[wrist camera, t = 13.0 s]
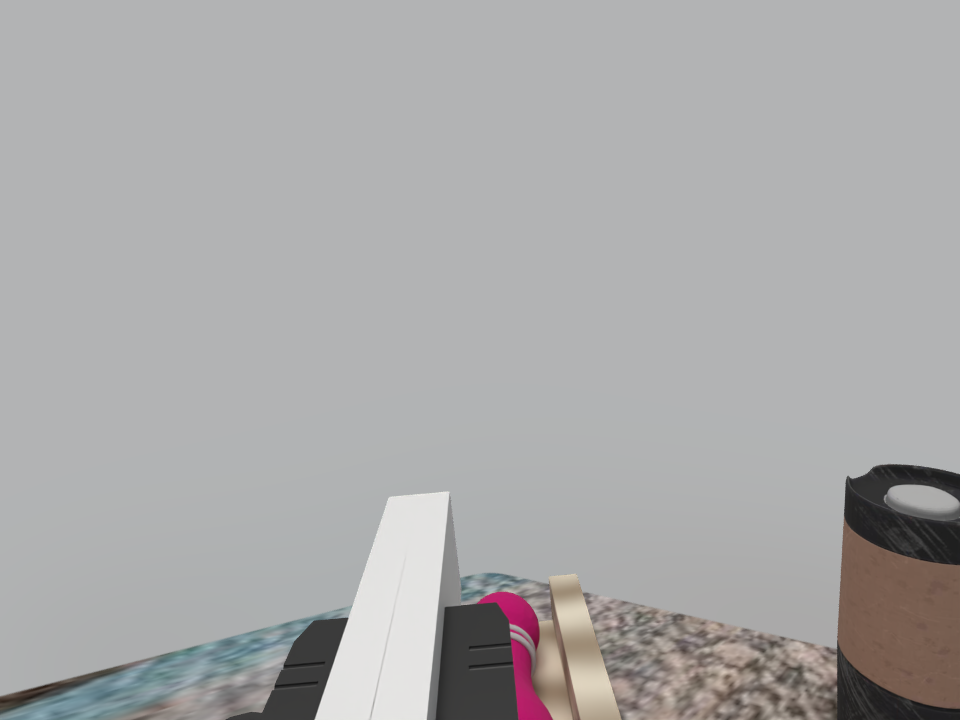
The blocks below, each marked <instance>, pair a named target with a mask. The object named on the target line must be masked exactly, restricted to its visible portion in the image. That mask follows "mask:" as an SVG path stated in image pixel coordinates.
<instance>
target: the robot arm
mask: <svg viewBox="0 0 960 720" xmlns="http://www.w3.org/2000/svg"><path fill="white" fill-rule="evenodd" d="M460 605H461V583H460V575H459V566H458V558H457V550H456V542H455V533H454V525H453V517H452V508H451V500H450V492H449V491H448V492H437V493H428V494H416V495H406V496H395V497H389V499H388V502H387V505H386V508H385V511H384V514H383V517H382V520H381V523H380V526H379V529H378V532H377V535H376V538H375V541H374V544H373V547H372V550H371V553H370V556H369V559H368V562H367V565H366V568H365V571H364V574H363V577H362V580H361V583H360V586H359V589H358V592H357V595H356V598H355V601H354V604H353V607H352V610H351V613H350V616H349V618H339V619H328V620H317V621H313V622H312V623H311V624H310V625H309V627H308V628H307V629H306V630H305V631H304V632H303V633H302V634H301V635H300V636H299V637H298V638H297V639H296V640H295V641H294V643H293V645H292V648H291V650H290V652H289V654H288V657H287V659H286V661H285V663H284V669H283V670H281V672H280V674H279V677H278V679H277V681H276V683H275V689H274V690H272V692H271V694H270V697H269V699H268V701H267V703H266V705H265V708H264V710H263V712H262V713H257V712H249V713H245V714H241V715H237V716H233V717H230V718H228V719H226V720H519V718H518V707H517V696H516V686H515V675H514V665H513V655H512V645H511V635H510V624H509V619H508V618H507V616H506V615H505V614H504V612H503V611H502V609H501V608H500V606H499V605H498V604H497V602H493V603H482V604H472V605H461V606H460Z"/></svg>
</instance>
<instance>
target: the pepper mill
mask: <svg viewBox="0 0 960 720" xmlns="http://www.w3.org/2000/svg"><path fill="white" fill-rule="evenodd" d="M493 602H497V604H498V605H499V606H500V608H501V609H502V611H503V612H504V614H505V615H506V616H507V618H508V619H509V624H510V635H511V645H512V655H513V665H514V675H515V686H516V696H517V707H518V718H519V720H553V719H552V717H551V715H550V713H549V711H548V709H547V708H546V706H545V705H544V704H543V702H542V701H541V700H540V698H539V697H538V696H537V695H536V693H535V691H534V688H533V685H532V679H531V678H532V676H533V674H534V672H535V669H536V650H537V647H538V644H539V640H540V627H539V623H538V619H537V616H536V614H535V612H534V610H533V609H532V608H531V606H530V605H529V604H528V603H527V602H526V601H525V600H524V599H523V598H521V597H520V596H518V595H516V594H513V593H509V592H496V593H492V594H490V595H487V596H485V597H484V598H483V599H481V600H480V601H479V602H478V603H477V604H482V603H493Z"/></svg>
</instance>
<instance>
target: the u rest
mask: <svg viewBox="0 0 960 720" xmlns="http://www.w3.org/2000/svg"><path fill="white" fill-rule="evenodd" d="M549 586H550V597H551V609H552V620H550V621H540V622H538V623H539V627H540V640H539V644H538V647H537V650H536V669H535V672H534V674H533V676H532V678H531V679H532V685H533V688H534V691H535V693H536V695H537V696H538V697H539V698H540V700H541V701H542V702H543V704H544V705H545V706H546V708H547V709H548V711H549V713H550V715H551V717H552V719H553V720H621V717H620V713H619V710H618V707H617V704H616V700H615V697H614V694H613V691H612V687H611V684H610V681H609V678H608V674H607V671H606V668H605V665H604V661H603V658H602V655H601V652H600V648H599V645H598V642H597V639H596V635H595V632H594V629H593V626H592V623H591V619H590V616H589V613H588V610H587V606H586V603H585V600H584V597H583V593H582V590H581V587H580V584H579V580H578V577H577V574H570V575H560V576H550V577H549Z"/></svg>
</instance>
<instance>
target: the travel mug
mask: <svg viewBox="0 0 960 720" xmlns="http://www.w3.org/2000/svg"><path fill="white" fill-rule="evenodd" d="M837 638H838V640H837V720H960V474H956V473H953V472H949V471H945V470H940V469H934V468H929V467H922V466H914V465H897V464H895V465H894V464H888V465H879V466H875V467H873V468H872V469H871V470H870V471H869V472H868V473H867V474H865V475H863V476H861V477H858V478H855V479H851V478H850V477H849V476H847V479H846V490H845V509H844V527H843V545H842V564H841V582H840V600H839V618H838V636H837Z"/></svg>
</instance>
